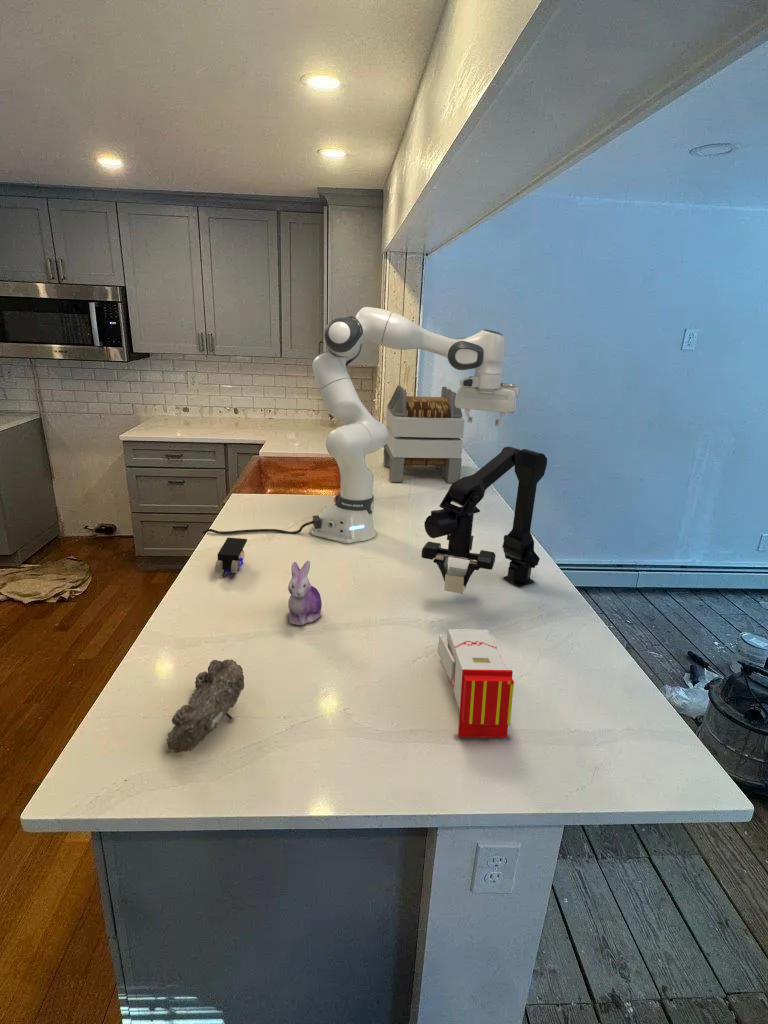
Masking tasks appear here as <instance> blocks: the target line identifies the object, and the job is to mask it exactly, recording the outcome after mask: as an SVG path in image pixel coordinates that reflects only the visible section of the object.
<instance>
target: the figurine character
mask: <svg viewBox="0 0 768 1024" xmlns="http://www.w3.org/2000/svg"><path fill="white" fill-rule="evenodd" d="M247 542H248V538H240V537H226V539H225V541H224V543H223V544H222V546H221V547H220V549H219V551H218V552H217V560H216V562H215V564H214V572H215V573H221V577H222V578H224V577H225V576H226V574H227V573H230V574H231V573H232V574H231V578H234V577H235V575H236V573H237V572H239V571H240V567H242V566H243V565H244V564H245V562H244V558H245V551H244V547H245V546H246V544H247Z"/></svg>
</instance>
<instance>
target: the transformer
mask: <svg viewBox="0 0 768 1024" xmlns="http://www.w3.org/2000/svg"><path fill="white" fill-rule="evenodd" d="M440 393H441V394H440V396H415V395H414V396H413V395H412V396H411V395H407V394H408V393H407V390H406V389H404V388H403V387H402V385H399V384H398V385H397V386H396V388H395V390H394V392H393V394H392V395H391V398H390V400H389V402H388V404H387V405H386V413H385V414H386V415H385V423H386V425H385V427H386V429H387V431H388V441H387V443H386V445H385V446H384V447H383V466H384V467H388V468H389V475H388V476H389V477H388V478H389V480H390V482H391V483H402V482H403V475H404V469H405V466H406V467H407V466H411V467H412V466H413V467H415V466H416V467H417V466H418V467H436V468H437V470H438V469H439V473H440V474H441V475H443V478H444V479H445V481H446V482H447V483H449V484H453V483H454V482H455V481H457V480H459V479H461V472H462V461H463V460H462V453H463V442H464V441H463V440H462V439H463V438H464V431H465V430H464V429H465V419H464V418H463V411H462V408H456V406H455V398H456V393H457V392H455V391H453V390H452V389H451V388H447V386H442V387H441V392H440Z"/></svg>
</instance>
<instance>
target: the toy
mask: <svg viewBox="0 0 768 1024" xmlns="http://www.w3.org/2000/svg"><path fill="white" fill-rule="evenodd" d="M446 640H447V643H446V641H445V639H444V636H443V635H442V634H439V637H438V646H437V656H438V657H439V659H440V661H441V663H442V666H443V668H444V670H445V672H446V674H447V677H448V679H449V681H450V684H451V687H452V690H453V693H454V697H455V701H456V705H457V708H458V711H459V714H458V715H459V716H458V730H457V731H458V732H457V737H458V738H508V731H509V726H510V725H511V717H512V707H513V697H514V696H513V695H514V684H515V680H514V679H513V673H514V671H513V670H512V669H508V667H507V665H506V662H505V661H504V659H503V658H502V655H501V653H500V651H499V649H498V647H497V643H496V639H495V637H494V635H493V634H491V632H490V631H489V629H467V628H466V629H465V628H463V629H461V628H460V629H459V628H448V630H447V639H446Z"/></svg>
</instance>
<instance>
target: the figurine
mask: <svg viewBox="0 0 768 1024" xmlns="http://www.w3.org/2000/svg"><path fill="white" fill-rule="evenodd" d="M310 568H311V561H310V560H307V561H305V563H304V564H303V565H302V567H300V566H299V564H298V563H297V562H296V561H293V562H292V563H291V579H290V580H289V583H288V586H287V590H288V593H289V594H290V596H289V598H288V603H287V604H288V610H289V614H288V617H289V623H290V624H292V625H297V626H303V625H306V624H310V623H313V622H315V621H317V619H319V618H320V617H321V612H322V603H323V602H322V597H321V594H320V591H319V590H318V589H317V588H316V587H315V586H313V585H311V582H310V580H309V578H308V576H309V572H310Z"/></svg>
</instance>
